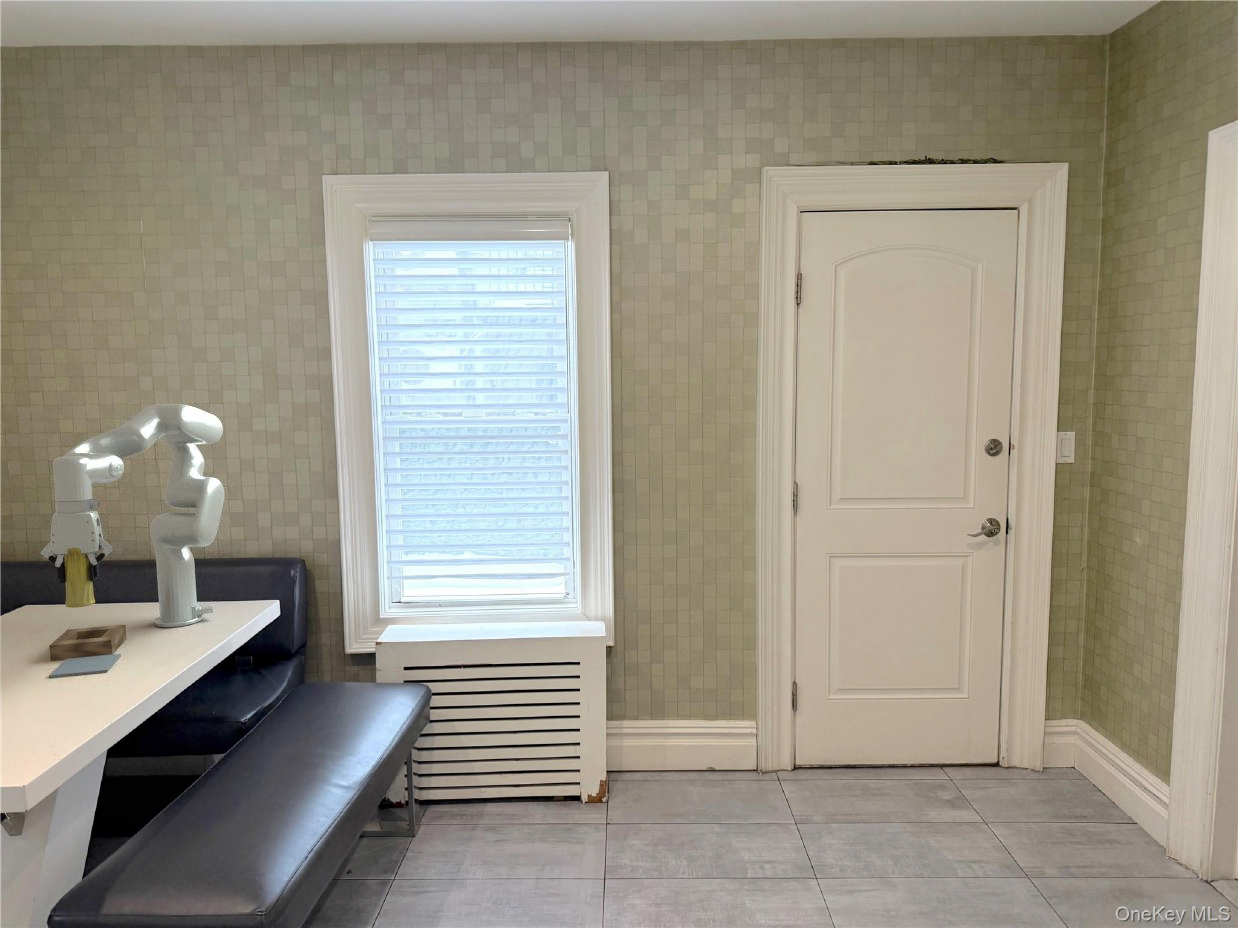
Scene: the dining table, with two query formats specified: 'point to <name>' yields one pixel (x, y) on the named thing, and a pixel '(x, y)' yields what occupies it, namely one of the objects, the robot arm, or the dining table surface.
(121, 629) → the collar
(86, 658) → the mat
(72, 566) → the vase
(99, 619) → the dining table surface
